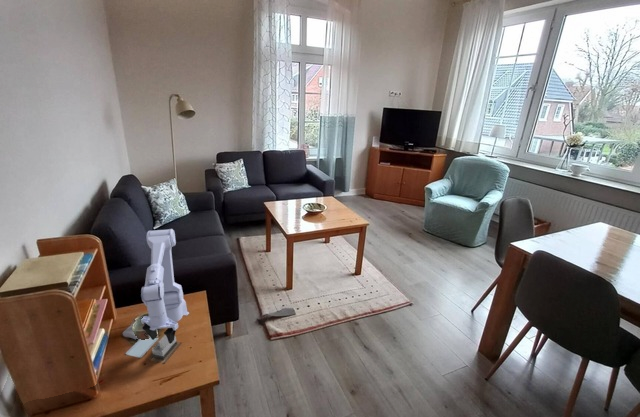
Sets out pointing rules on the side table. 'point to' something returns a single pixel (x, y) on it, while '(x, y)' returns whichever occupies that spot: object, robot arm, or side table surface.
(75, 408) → the side table surface
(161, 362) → the walnut stand
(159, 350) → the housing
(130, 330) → the stone block
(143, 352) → the bluegrey stand
